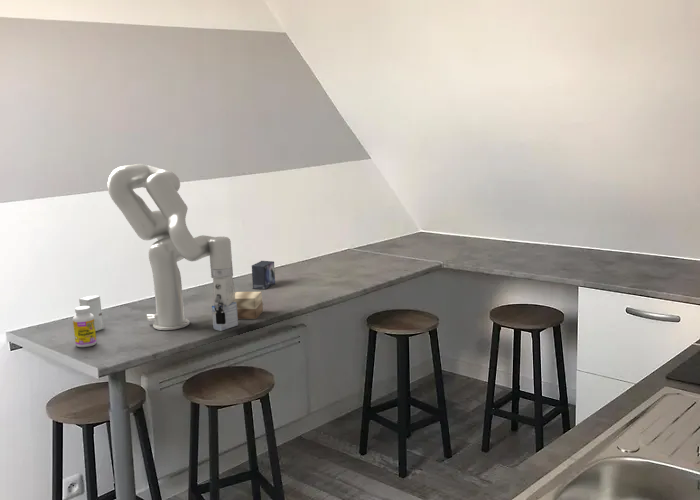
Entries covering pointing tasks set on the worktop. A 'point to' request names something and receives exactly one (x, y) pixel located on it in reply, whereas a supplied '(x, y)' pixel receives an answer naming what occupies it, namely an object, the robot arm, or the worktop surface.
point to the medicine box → (226, 317)
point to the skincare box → (94, 309)
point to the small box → (263, 274)
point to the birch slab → (248, 300)
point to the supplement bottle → (84, 327)
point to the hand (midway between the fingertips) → (225, 319)
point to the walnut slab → (250, 312)
